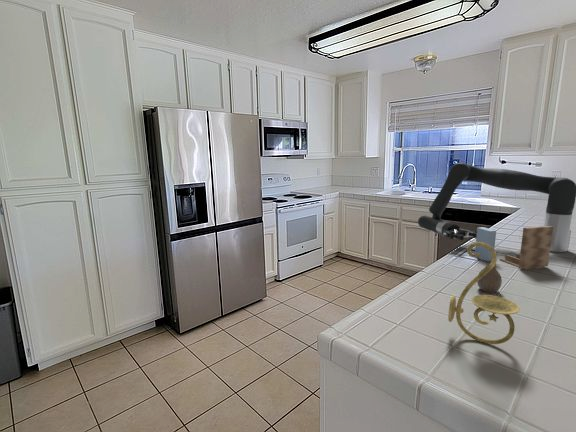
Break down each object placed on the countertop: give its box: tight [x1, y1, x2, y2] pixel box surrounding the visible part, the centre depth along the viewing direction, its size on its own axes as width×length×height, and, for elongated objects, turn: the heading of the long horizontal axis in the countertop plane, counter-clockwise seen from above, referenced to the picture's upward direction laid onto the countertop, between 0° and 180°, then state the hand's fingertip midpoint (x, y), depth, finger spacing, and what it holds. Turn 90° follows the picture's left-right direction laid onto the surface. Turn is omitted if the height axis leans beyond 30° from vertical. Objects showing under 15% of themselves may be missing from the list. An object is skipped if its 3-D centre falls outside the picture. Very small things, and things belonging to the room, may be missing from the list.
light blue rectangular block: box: [474, 226, 497, 262], centre depth 138 cm, size 3×7×13 cm, turn 11°
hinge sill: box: [499, 225, 553, 270], centre depth 130 cm, size 12×12×17 cm
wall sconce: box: [447, 241, 520, 345], centre depth 76 cm, size 14×10×25 cm
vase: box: [476, 264, 503, 294], centre depth 106 cm, size 7×7×9 cm
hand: (471, 237), depth 146 cm, fingers open, 8 cm apart
